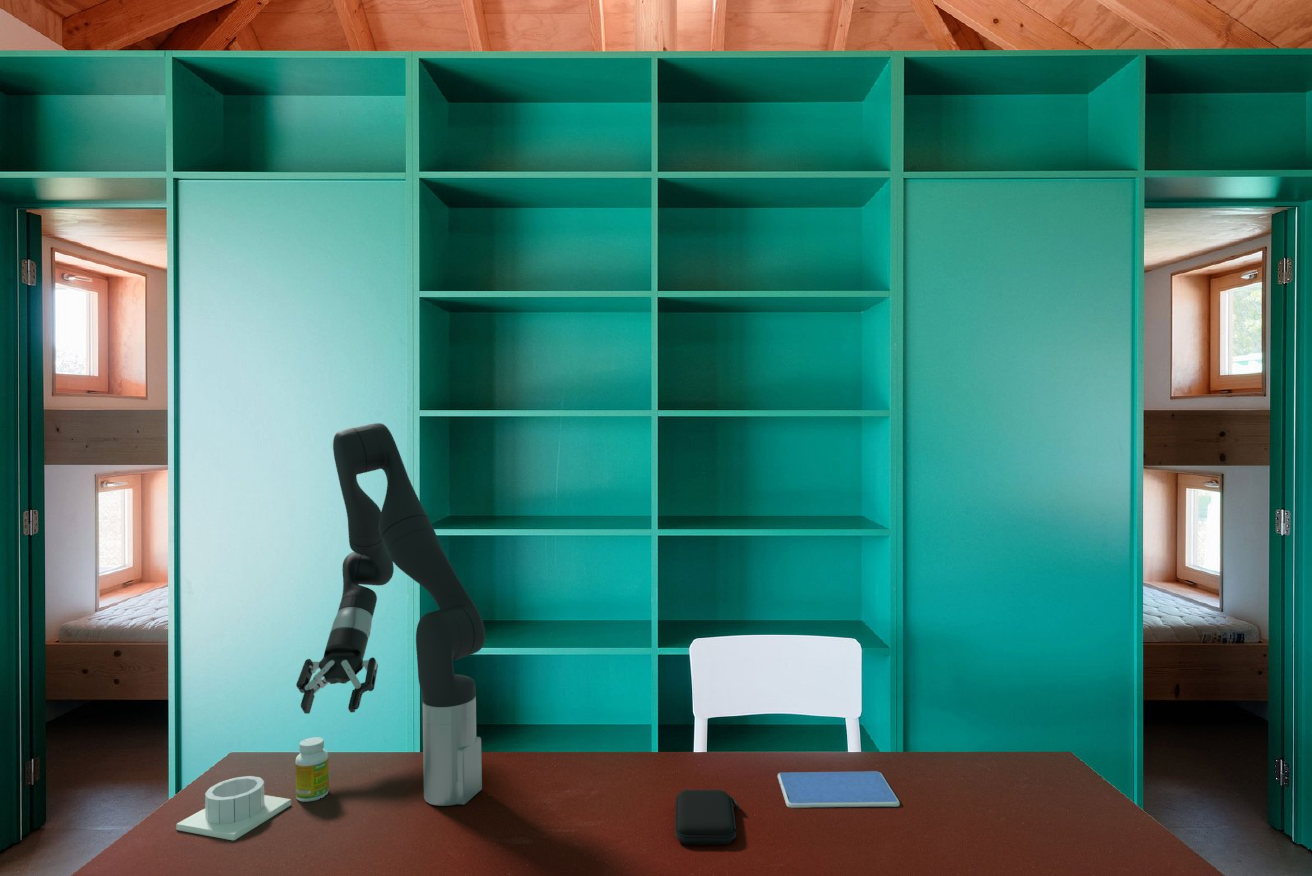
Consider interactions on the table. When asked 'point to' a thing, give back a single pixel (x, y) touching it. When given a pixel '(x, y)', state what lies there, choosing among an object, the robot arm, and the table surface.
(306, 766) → the supplement bottle
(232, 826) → the sleeve holder
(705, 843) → the carrying case or bag
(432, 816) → the table surface
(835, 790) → the tablet computer
